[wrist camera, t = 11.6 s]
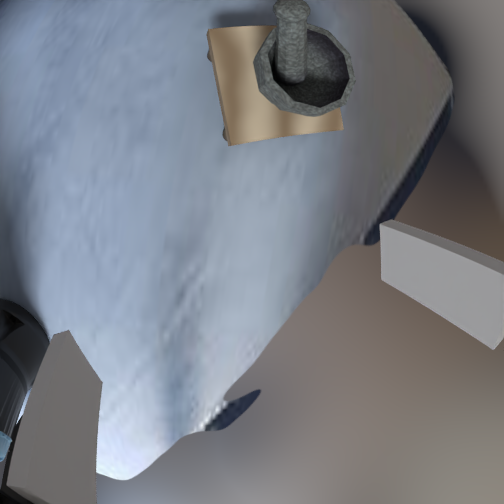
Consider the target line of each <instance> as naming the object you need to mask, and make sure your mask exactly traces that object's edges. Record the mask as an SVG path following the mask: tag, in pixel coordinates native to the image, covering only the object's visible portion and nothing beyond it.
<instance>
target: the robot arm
mask: <svg viewBox="0 0 504 504" xmlns="http://www.w3.org/2000/svg"><path fill="white" fill-rule="evenodd" d="M380 240H381V279H382V280H383V281H385V282H386V283H388V284H390V285H391V286H393V287H395V288H397V289H398V290H400V291H401V292H403V293H405V294H406V295H408V296H410V297H411V298H413V299H415V300H416V301H418V302H420V303H421V304H423V305H424V306H426V307H428V308H429V309H431V310H432V311H434V312H436V313H437V314H439V315H440V316H442V317H444V318H445V319H447V320H448V321H450V322H452V323H453V324H455V325H456V326H458V327H459V328H461V329H462V330H464V331H465V332H467V333H468V334H470V335H472V336H473V337H475V338H476V339H478V340H479V341H481V342H482V343H484V344H485V345H487V346H488V347H490V348H491V349H493V350H494V349H495V348H496V347H497V345H498V344H499V343H500V342H501V341H502V339H503V337H504V262H502V261H500V260H497V259H495V258H493V257H490V256H488V255H486V254H483V253H481V252H478V251H476V250H473V249H471V248H468V247H466V246H463V245H461V244H458V243H456V242H453V241H451V240H448V239H445V238H443V237H440V236H437V235H434V234H432V233H429V232H426V231H423V230H421V229H418V228H415V227H412V226H409V225H406V224H403V223H400V222H397V221H394V220H389V221H387V222H384V223H381V224H380ZM102 383H103V382H102V381H101V380H100V378H99V377H98V375H97V374H96V372H95V371H94V370H93V368H92V367H91V365H90V364H89V362H88V361H87V359H86V357H85V356H84V354H83V353H82V351H81V350H80V348H79V346H78V345H77V343H76V341H75V340H74V338H73V336H72V335H71V333H70V331H69V330H67V331H64V332H61V333H58V334H54V335H53V338H52V340H51V342H50V344H49V341H48V338H47V336H46V334H45V332H44V331H43V329H42V328H41V326H40V325H39V323H38V322H37V321H36V320H35V319H34V318H33V317H32V316H31V315H30V314H29V313H28V312H27V311H26V310H25V309H23V308H22V307H20V306H19V305H17V304H15V303H13V302H11V301H8V300H3V299H0V462H1V461H2V460H3V459H4V458H5V456H6V453H7V450H8V448H9V450H10V452H8V455H7V459H6V464H5V469H4V474H3V479H2V486H1V490H0V504H97V500H96V454H97V434H98V421H99V410H100V400H101V391H102ZM31 388H32V389H31ZM30 389H31V392H30V395H29V398H28V401H27V404H26V407H25V410H24V413H23V415H22V416H21V418H20V419H19V421H18V423H17V420H18V417H19V414H20V411H21V408H22V405H23V402H24V399H25V396H26V394H27V392H28V391H29V390H30ZM16 423H17V424H16ZM9 445H10V447H9Z"/></svg>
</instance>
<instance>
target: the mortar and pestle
mask: <svg viewBox="0 0 504 504" xmlns="http://www.w3.org/2000/svg"><path fill="white" fill-rule="evenodd" d="M273 11H274V13H275V15H276V17H277V28H273V30H272V31H271V32H270V33H269V34H268V35H267V37H266V39H265V40H264V42H263V44H262V46H261V47H260V49H259V51H258V52H257V54H256V56H255V58H254V60H253V65H254V70H255V75H256V79H257V84H258V89H259V92H260V93H261V94H262V95H263V96H264V97H265V98H266V99H267V100H269V101H270V102H271V103H272V104H274V105H275V106H276V107H277V108H278V109H279V110H282V111H287V112H291V113H296V114H300V115H304V116H310V117H317V116H321V115H324V114H326V113H328V112H330V111H332V110H335V109H337V108H339V107H341V106H344V105H346V103H347V100H348V98H349V96H350V93H351V91H352V88H353V86H354V84H355V81H356V80H355V76H354V71H353V67H352V63H351V58H350V54H349V53H348V51H347V50H346V49H345V48H344V47H343V46H342V45H341V44H340V42H339V41H338V40H337V39H336V38H335V37H334V36H333V35H332V34H331V33H330V32H329V31H327V30H325V29H322V28H319V27H316V26H314V25H311V24H308V23H307V17H308V16H309V14H310V8H309V6H308V4H307V3H306V2H305V1H303V0H278V1H277V2H276V4H275V5H274V6H273Z"/></svg>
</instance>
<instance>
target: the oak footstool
mask: <svg viewBox="0 0 504 504" xmlns="http://www.w3.org/2000/svg"><path fill="white" fill-rule="evenodd" d="M273 28H277V26H240V27H226V28H215V29H208V32H207V39H208V44H209V49H210V50H209V52H208V54H207V57H208V59H209V60H210V61H211V62H212V65H213V70H214V75H215V80H216V85H217V90H218V95H219V101H220V106H221V111H222V116H223V121H224V126H225V129H224V131H223V138H224V139H225V140H226V141H228V146H232V145H237V144H243V143H248V142H254V141H260V140H266V139H272V138H279V137H286V136H293V135H300V134H308V133H317V132H327V131H337V130H344V129H343V123H342V117H341V111H340V107H339V108H337V109H335V110H332V111H330V112H328V113H326V114H324V115H321V116H317V117H310V116H304V115H300V114H296V113H291V112H287V111H282V110H279V109H278V108H277V107H276V106H275V105H274V104H272V103H271V102H270V101H269V100H267V99H266V98H265V97H264V96H263V95H262V94H261V93H260V92H259V89H258V84H257V79H256V75H255V70H254V65H253V60H254V58H255V56H256V54H257V52H258V51H259V49H260V47H261V46H262V44H263V42H264V40H265V39H266V37H267V35H268V34H269V33H270V32H271V31H272V30H273Z"/></svg>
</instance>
